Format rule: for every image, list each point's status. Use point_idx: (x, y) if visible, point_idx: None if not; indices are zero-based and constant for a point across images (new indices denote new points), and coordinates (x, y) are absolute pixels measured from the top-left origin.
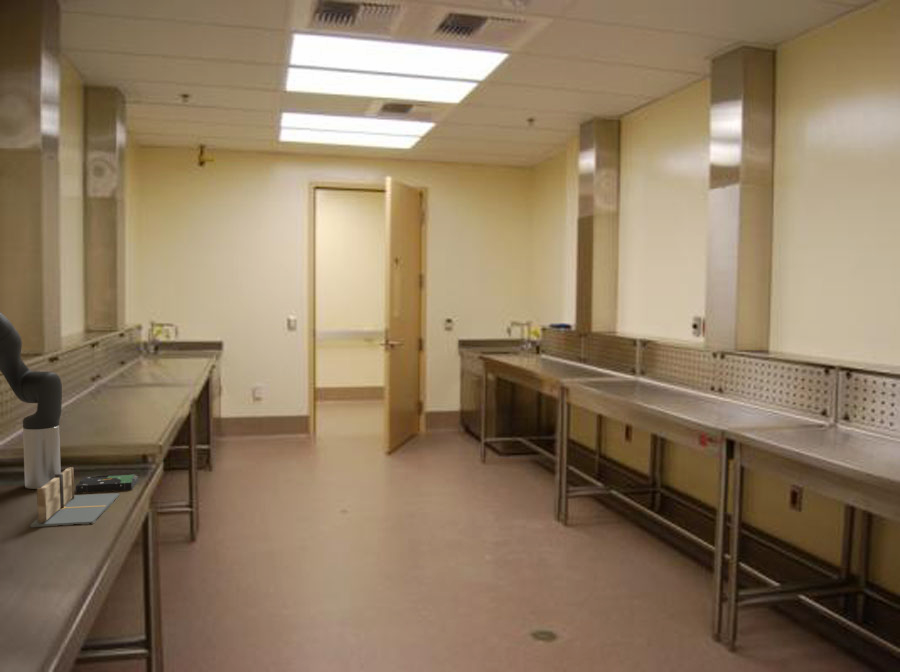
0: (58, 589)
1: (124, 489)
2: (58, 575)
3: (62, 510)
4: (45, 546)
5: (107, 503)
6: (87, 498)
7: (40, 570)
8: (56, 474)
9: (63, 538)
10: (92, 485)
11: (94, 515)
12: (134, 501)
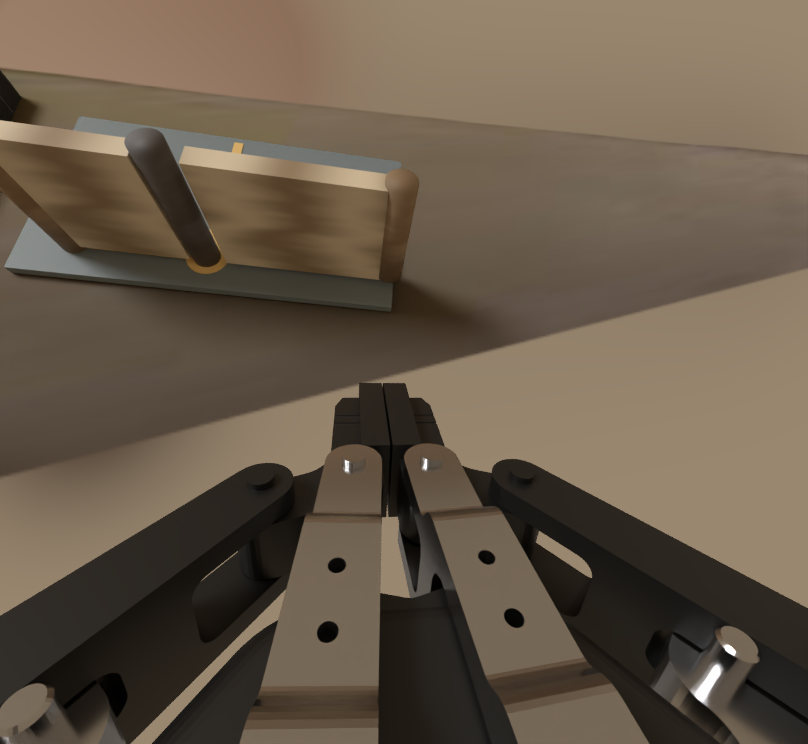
0: (800, 188)
1: (10, 110)
2: (740, 196)
3: None
4: (570, 244)
5: (209, 140)
6: None
7: (719, 229)
8: (145, 149)
9: (512, 216)
10: None
11: (340, 162)
12: (191, 91)
